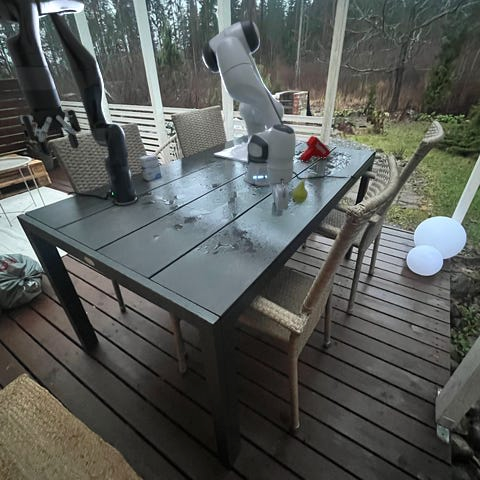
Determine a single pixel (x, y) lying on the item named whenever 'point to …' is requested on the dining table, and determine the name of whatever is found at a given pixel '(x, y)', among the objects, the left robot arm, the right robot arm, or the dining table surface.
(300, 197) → the fruit
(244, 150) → the relief map
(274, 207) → the tin
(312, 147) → the toy gun
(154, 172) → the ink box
